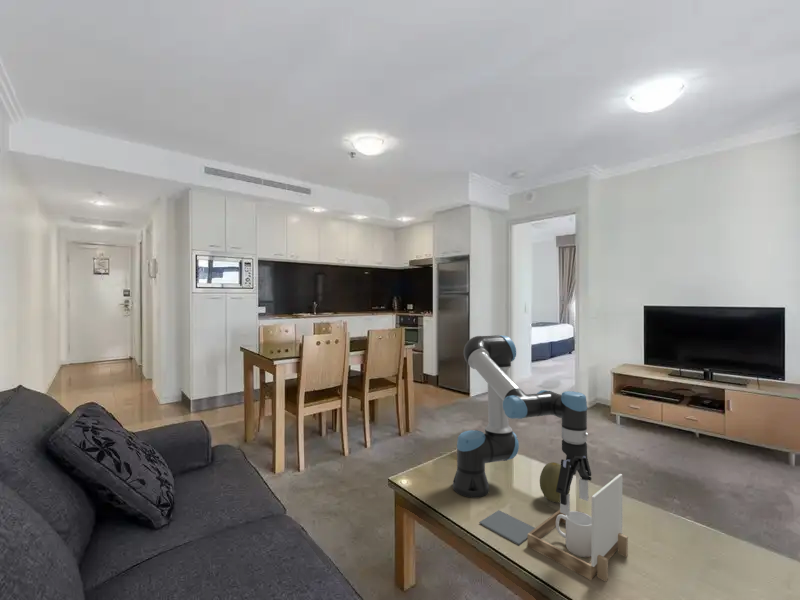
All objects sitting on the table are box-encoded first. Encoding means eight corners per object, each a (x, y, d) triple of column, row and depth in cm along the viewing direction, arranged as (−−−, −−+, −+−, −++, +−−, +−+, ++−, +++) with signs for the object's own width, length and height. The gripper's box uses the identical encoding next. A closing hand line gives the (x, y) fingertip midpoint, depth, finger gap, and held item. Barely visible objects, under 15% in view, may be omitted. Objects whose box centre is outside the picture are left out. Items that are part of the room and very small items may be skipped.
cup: (587, 561, 117) (588, 528, 117) (550, 543, 126) (550, 512, 126) (598, 549, 123) (598, 518, 123) (561, 533, 132) (561, 503, 132)
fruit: (555, 491, 160) (555, 455, 160) (576, 504, 150) (576, 466, 150) (533, 496, 156) (533, 459, 156) (553, 510, 146) (553, 471, 146)
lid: (591, 579, 110) (591, 496, 110) (619, 547, 124) (620, 473, 124) (602, 585, 107) (603, 500, 107) (630, 552, 122) (630, 476, 122)
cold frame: (527, 546, 124) (527, 534, 124) (560, 520, 139) (560, 509, 139) (590, 580, 109) (590, 566, 109) (620, 546, 124) (620, 534, 124)
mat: (479, 523, 137) (479, 522, 137) (498, 511, 145) (498, 510, 145) (519, 545, 125) (519, 543, 125) (537, 530, 133) (537, 529, 133)
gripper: (568, 453, 113) (568, 525, 113) (601, 434, 130) (602, 497, 129) (544, 446, 119) (544, 515, 119) (579, 429, 135) (579, 489, 135)
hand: (574, 506), depth 124 cm, fingers open, 13 cm apart
